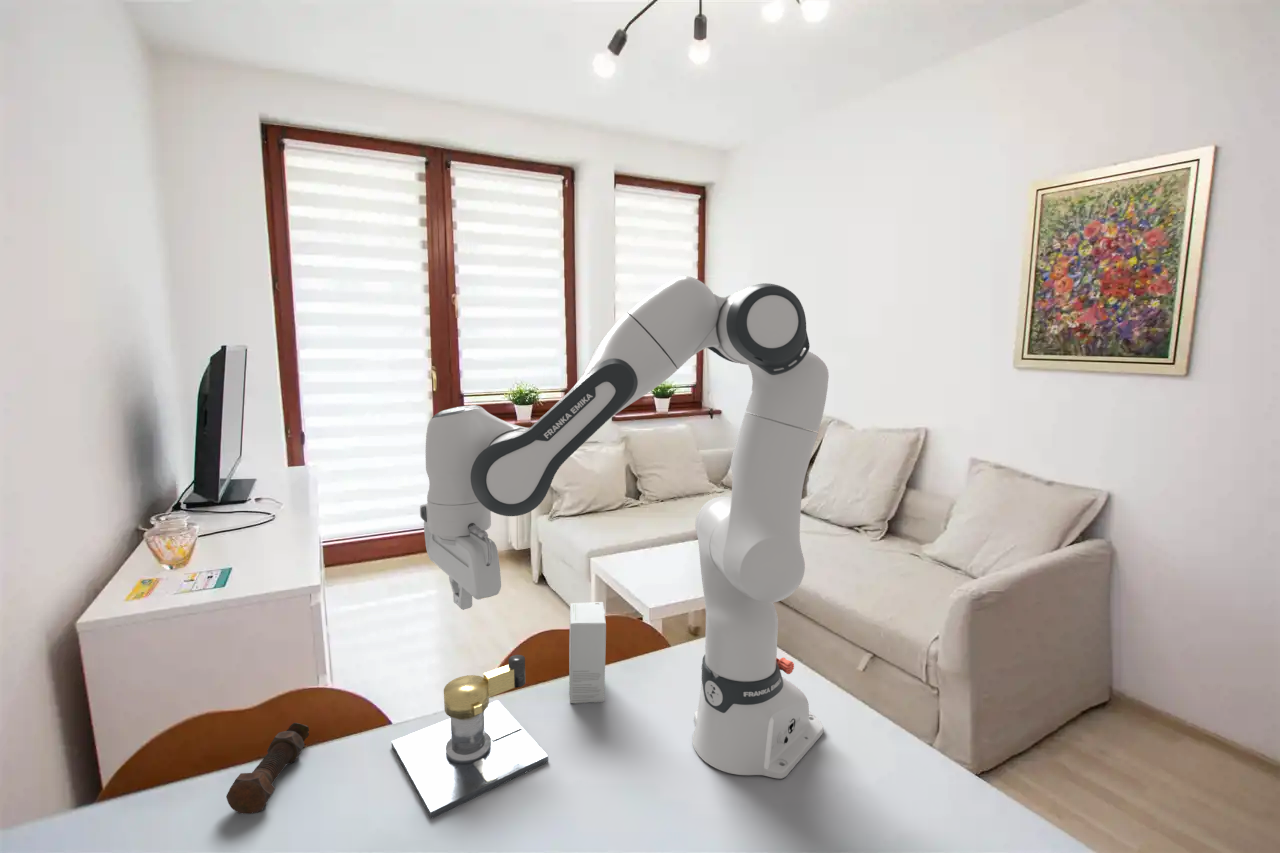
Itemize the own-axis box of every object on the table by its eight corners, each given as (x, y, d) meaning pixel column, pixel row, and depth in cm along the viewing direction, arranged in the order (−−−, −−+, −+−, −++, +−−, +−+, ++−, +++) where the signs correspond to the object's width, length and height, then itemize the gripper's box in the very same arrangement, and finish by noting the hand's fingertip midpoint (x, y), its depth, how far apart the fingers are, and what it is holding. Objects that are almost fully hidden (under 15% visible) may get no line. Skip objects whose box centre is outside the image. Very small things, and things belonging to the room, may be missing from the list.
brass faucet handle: (456, 728, 87) (455, 698, 86) (435, 699, 93) (434, 671, 93) (537, 695, 95) (537, 668, 94) (512, 671, 101) (511, 645, 101)
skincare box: (569, 679, 114) (568, 601, 112) (604, 677, 115) (604, 600, 112) (569, 705, 106) (568, 622, 103) (606, 703, 106) (606, 621, 104)
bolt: (306, 751, 96) (254, 822, 82) (277, 737, 96) (219, 807, 81) (323, 721, 96) (274, 787, 81) (294, 707, 96) (239, 771, 81)
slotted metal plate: (497, 705, 106) (496, 662, 105) (548, 761, 92) (547, 713, 91) (391, 747, 95) (389, 700, 94) (431, 818, 81) (428, 764, 80)
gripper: (511, 530, 81) (513, 625, 83) (455, 498, 97) (458, 579, 99) (466, 539, 78) (470, 639, 80) (415, 504, 94) (419, 588, 96)
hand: (462, 605), depth 90 cm, fingers closed
